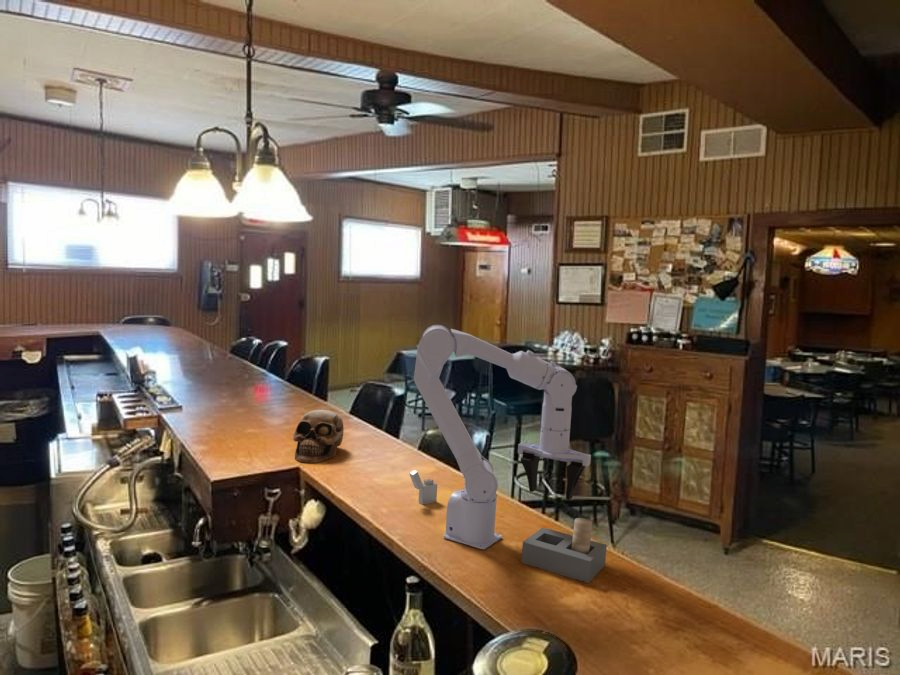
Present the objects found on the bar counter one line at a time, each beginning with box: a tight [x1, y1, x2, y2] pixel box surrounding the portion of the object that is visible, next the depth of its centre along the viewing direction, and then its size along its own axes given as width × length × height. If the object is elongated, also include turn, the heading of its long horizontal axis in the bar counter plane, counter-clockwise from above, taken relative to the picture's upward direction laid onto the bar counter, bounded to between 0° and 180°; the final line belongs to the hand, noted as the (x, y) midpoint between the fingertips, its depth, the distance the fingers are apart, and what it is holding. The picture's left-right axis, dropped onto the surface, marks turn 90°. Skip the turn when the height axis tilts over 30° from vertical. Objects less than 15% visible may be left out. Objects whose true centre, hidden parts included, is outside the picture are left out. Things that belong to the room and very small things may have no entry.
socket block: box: [520, 527, 608, 584], centre depth 121 cm, size 13×9×4 cm
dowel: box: [571, 517, 593, 554], centre depth 119 cm, size 3×3×8 cm
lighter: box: [408, 469, 438, 505], centre depth 149 cm, size 7×2×8 cm, turn 127°
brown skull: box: [293, 409, 345, 464], centre depth 185 cm, size 16×17×13 cm
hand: (550, 494), depth 130 cm, fingers open, 7 cm apart
